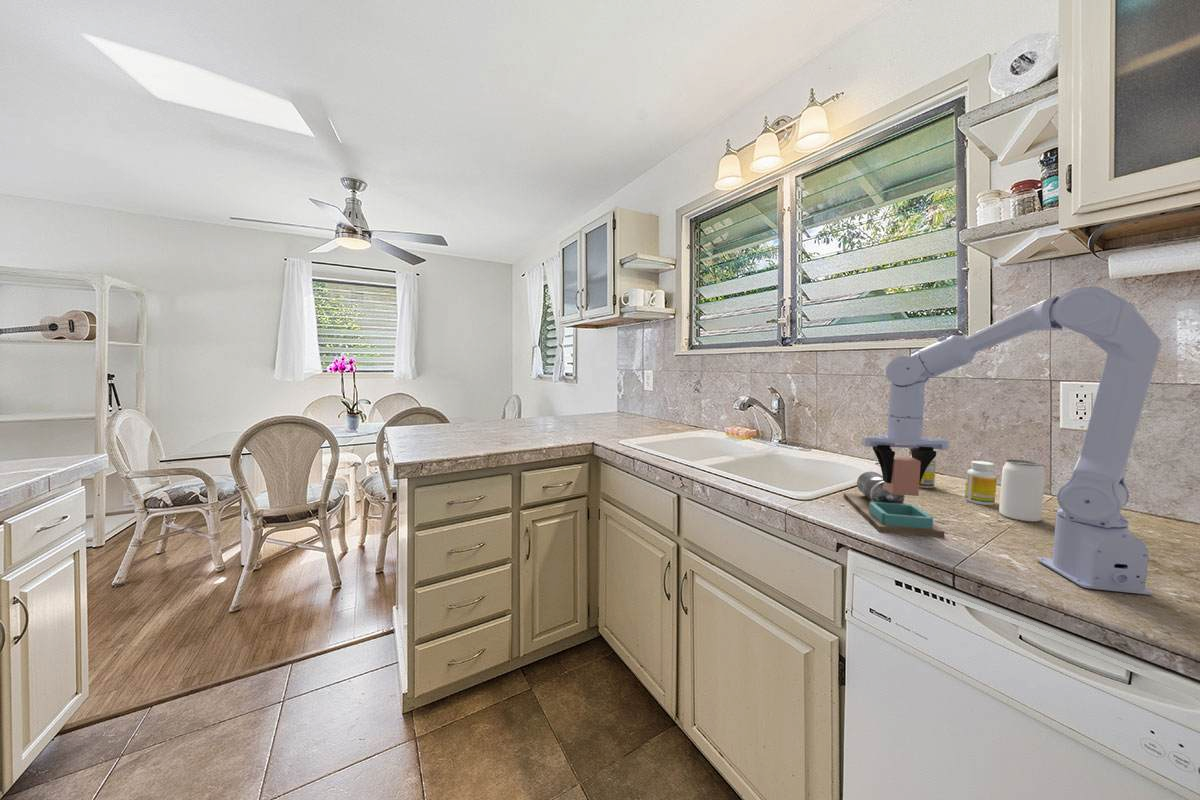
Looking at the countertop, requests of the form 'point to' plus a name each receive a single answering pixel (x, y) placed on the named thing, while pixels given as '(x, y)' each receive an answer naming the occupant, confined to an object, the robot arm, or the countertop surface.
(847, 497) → the base plate
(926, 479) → the supplement bottle
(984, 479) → the supplement bottle
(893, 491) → the block
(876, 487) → the motor
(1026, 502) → the can
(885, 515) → the teal square tray
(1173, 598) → the countertop surface
